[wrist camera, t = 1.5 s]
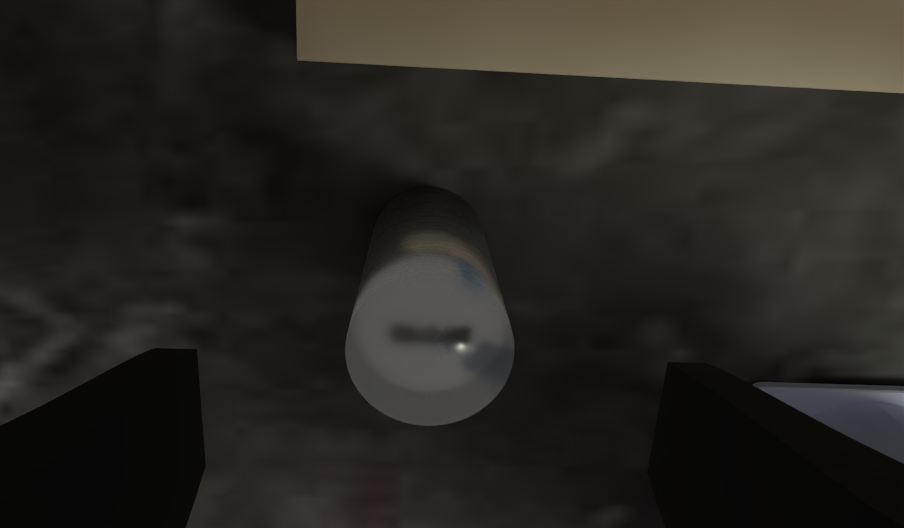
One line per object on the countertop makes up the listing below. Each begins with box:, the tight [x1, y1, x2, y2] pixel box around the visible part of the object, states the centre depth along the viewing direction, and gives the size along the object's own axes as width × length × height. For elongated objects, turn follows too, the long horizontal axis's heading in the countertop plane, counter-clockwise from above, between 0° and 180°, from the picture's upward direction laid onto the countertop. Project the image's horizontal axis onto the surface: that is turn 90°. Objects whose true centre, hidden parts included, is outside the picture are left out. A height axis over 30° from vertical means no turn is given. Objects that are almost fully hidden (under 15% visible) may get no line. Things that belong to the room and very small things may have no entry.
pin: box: [345, 187, 514, 426], centre depth 16 cm, size 3×3×7 cm
